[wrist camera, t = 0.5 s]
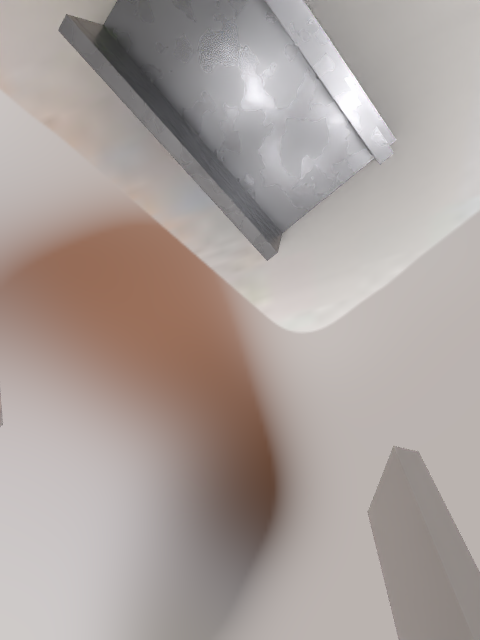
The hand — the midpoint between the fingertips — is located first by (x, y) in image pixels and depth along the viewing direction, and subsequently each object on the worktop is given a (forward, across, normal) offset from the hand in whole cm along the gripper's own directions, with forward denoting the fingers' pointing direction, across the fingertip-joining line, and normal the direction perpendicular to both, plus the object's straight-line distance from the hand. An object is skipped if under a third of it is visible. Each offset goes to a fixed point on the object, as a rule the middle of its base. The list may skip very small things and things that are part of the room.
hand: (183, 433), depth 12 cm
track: (+24, -4, +15) cm, 29 cm away
